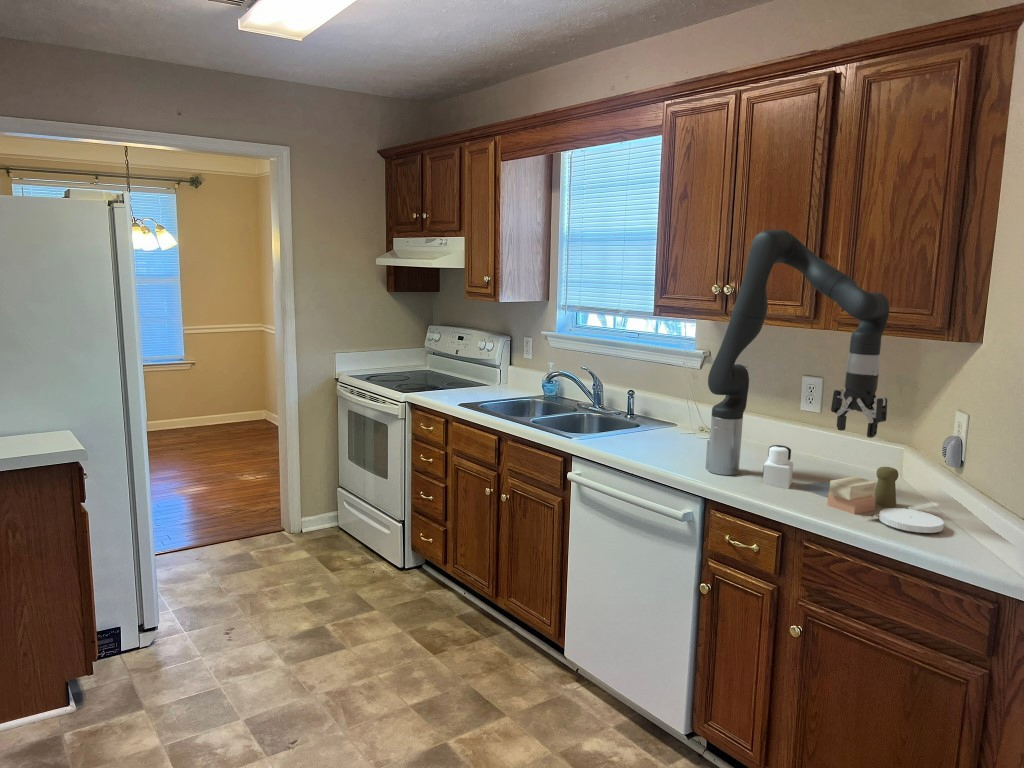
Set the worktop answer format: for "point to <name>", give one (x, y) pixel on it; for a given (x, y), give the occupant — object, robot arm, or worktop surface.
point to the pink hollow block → (852, 504)
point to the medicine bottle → (778, 467)
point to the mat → (816, 488)
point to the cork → (886, 487)
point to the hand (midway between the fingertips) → (855, 433)
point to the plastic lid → (911, 520)
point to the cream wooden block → (852, 488)
